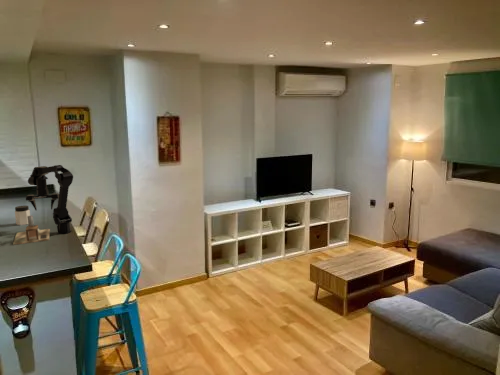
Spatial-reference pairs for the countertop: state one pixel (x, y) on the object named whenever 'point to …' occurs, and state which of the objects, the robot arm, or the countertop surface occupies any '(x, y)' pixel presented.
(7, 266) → the countertop surface
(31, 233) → the knobbed beige slab
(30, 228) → the tunnel
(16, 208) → the jar
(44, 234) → the board
